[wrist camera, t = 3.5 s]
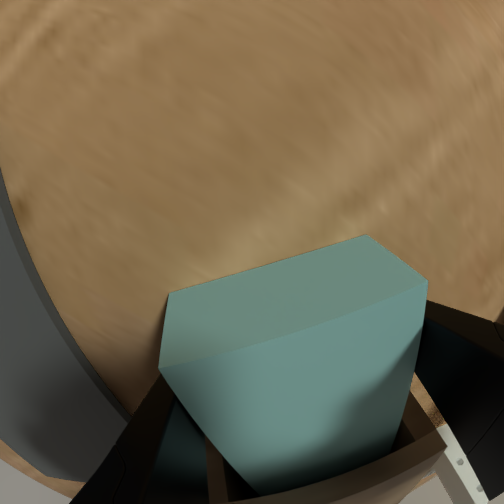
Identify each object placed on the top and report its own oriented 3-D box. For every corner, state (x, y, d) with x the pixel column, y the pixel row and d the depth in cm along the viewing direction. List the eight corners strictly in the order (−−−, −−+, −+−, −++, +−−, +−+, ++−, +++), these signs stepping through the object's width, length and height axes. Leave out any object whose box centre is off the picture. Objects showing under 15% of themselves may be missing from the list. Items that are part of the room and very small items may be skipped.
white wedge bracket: (406, 468, 13) (482, 516, 7) (445, 400, 20) (504, 439, 14) (379, 489, 14) (450, 534, 9) (425, 424, 21) (481, 461, 15)
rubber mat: (47, 471, 12) (46, 475, 12) (-120, 222, 4) (-125, 225, 3) (190, 476, 13) (191, 483, 12) (-13, 95, 5) (-22, 95, 4)
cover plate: (268, 473, 14) (278, 513, 11) (168, 293, 8) (158, 368, 5) (361, 443, 14) (378, 479, 11) (366, 234, 8) (428, 280, 6)
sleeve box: (250, 495, 15) (261, 548, 11) (196, 429, 11) (204, 527, 6) (372, 458, 16) (395, 506, 11) (395, 369, 11) (447, 446, 7)
